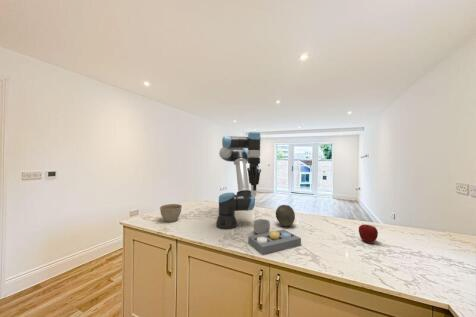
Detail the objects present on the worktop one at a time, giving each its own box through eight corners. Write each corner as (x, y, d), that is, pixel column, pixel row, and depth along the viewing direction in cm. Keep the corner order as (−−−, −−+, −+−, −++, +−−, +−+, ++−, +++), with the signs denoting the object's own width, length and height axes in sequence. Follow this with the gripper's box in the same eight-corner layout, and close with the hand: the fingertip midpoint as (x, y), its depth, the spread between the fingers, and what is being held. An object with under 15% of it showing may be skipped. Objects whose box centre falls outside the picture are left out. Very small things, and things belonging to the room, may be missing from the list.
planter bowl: (155, 223, 146) (155, 208, 146) (166, 216, 162) (166, 203, 162) (175, 224, 143) (175, 209, 143) (185, 217, 159) (185, 204, 159)
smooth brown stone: (297, 224, 145) (297, 204, 145) (291, 230, 133) (291, 208, 133) (279, 221, 153) (279, 202, 153) (272, 226, 141) (272, 205, 141)
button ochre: (267, 238, 113) (267, 231, 113) (275, 237, 115) (275, 230, 115) (273, 242, 108) (273, 235, 108) (281, 240, 110) (281, 233, 110)
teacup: (269, 237, 121) (269, 224, 121) (252, 235, 123) (252, 223, 123) (270, 229, 135) (270, 217, 135) (254, 228, 137) (254, 216, 137)
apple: (360, 237, 123) (361, 221, 123) (379, 241, 116) (379, 225, 116) (356, 241, 116) (356, 224, 116) (375, 246, 110) (376, 229, 110)
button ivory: (254, 244, 109) (255, 237, 109) (263, 243, 112) (263, 236, 112) (260, 249, 104) (260, 241, 104) (269, 247, 107) (269, 239, 107)
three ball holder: (248, 243, 113) (248, 236, 113) (283, 235, 124) (283, 229, 124) (262, 254, 99) (262, 247, 99) (301, 245, 111) (301, 238, 111)
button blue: (279, 239, 117) (279, 232, 117) (286, 237, 119) (286, 231, 119) (285, 243, 112) (285, 236, 112) (292, 241, 114) (293, 234, 114)
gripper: (243, 157, 123) (243, 194, 124) (254, 157, 112) (253, 198, 112) (253, 157, 127) (253, 193, 127) (265, 157, 115) (264, 197, 115)
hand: (253, 195), depth 119 cm, fingers closed
